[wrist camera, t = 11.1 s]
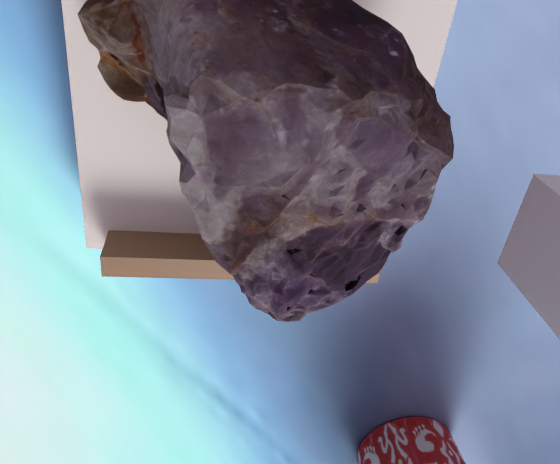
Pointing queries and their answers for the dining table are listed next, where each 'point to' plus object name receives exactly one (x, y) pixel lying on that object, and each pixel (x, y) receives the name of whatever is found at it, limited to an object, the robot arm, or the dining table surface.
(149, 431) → the dining table surface
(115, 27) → the rock
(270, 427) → the dining table surface
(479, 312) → the dining table surface
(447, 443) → the mug
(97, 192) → the display stand
